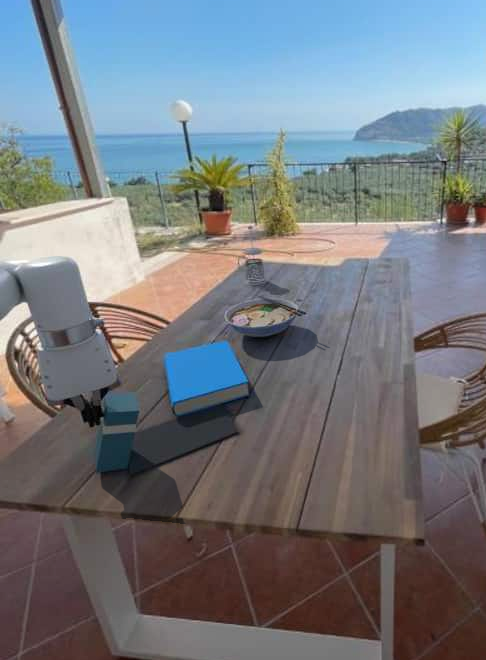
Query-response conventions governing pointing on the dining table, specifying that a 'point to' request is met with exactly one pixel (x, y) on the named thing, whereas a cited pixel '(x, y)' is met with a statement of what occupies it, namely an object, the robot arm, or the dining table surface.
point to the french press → (253, 261)
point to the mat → (179, 437)
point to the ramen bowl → (262, 316)
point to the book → (204, 377)
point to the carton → (116, 431)
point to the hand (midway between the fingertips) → (95, 422)
